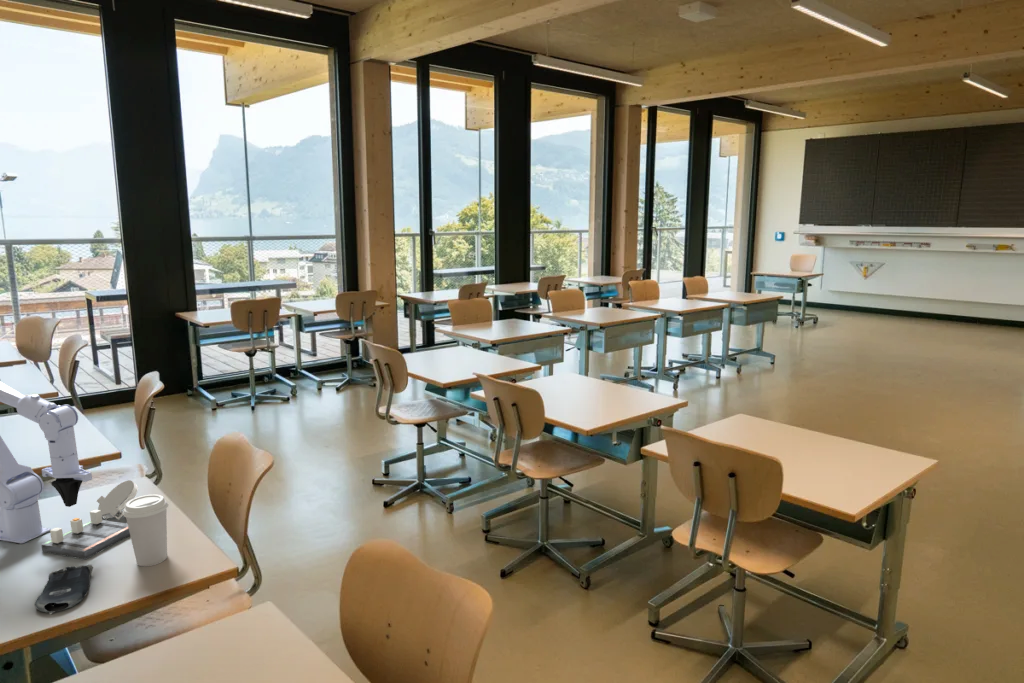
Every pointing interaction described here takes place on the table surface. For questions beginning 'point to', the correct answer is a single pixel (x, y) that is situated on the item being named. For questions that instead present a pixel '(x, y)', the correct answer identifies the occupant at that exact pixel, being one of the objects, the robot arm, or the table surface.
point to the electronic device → (65, 587)
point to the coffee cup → (148, 528)
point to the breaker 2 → (96, 516)
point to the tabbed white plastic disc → (117, 500)
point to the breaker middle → (76, 525)
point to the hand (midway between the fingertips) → (71, 505)
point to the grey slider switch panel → (88, 540)
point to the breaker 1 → (56, 535)
